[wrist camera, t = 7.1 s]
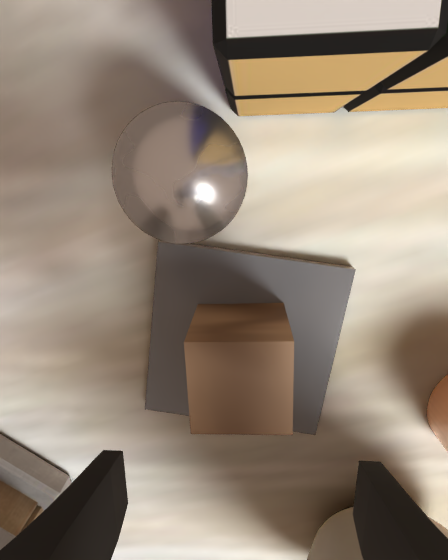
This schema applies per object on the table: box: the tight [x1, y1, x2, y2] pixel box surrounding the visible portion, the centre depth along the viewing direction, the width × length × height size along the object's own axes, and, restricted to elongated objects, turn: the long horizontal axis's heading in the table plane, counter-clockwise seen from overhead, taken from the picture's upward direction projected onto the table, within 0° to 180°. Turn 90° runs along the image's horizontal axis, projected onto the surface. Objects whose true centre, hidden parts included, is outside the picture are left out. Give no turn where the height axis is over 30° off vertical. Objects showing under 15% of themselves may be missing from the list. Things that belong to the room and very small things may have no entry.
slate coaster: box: [145, 240, 355, 435], centre depth 20 cm, size 10×10×1 cm
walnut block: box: [184, 303, 294, 435], centre depth 18 cm, size 4×4×4 cm
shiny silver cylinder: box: [112, 101, 248, 244], centre depth 16 cm, size 5×5×5 cm
